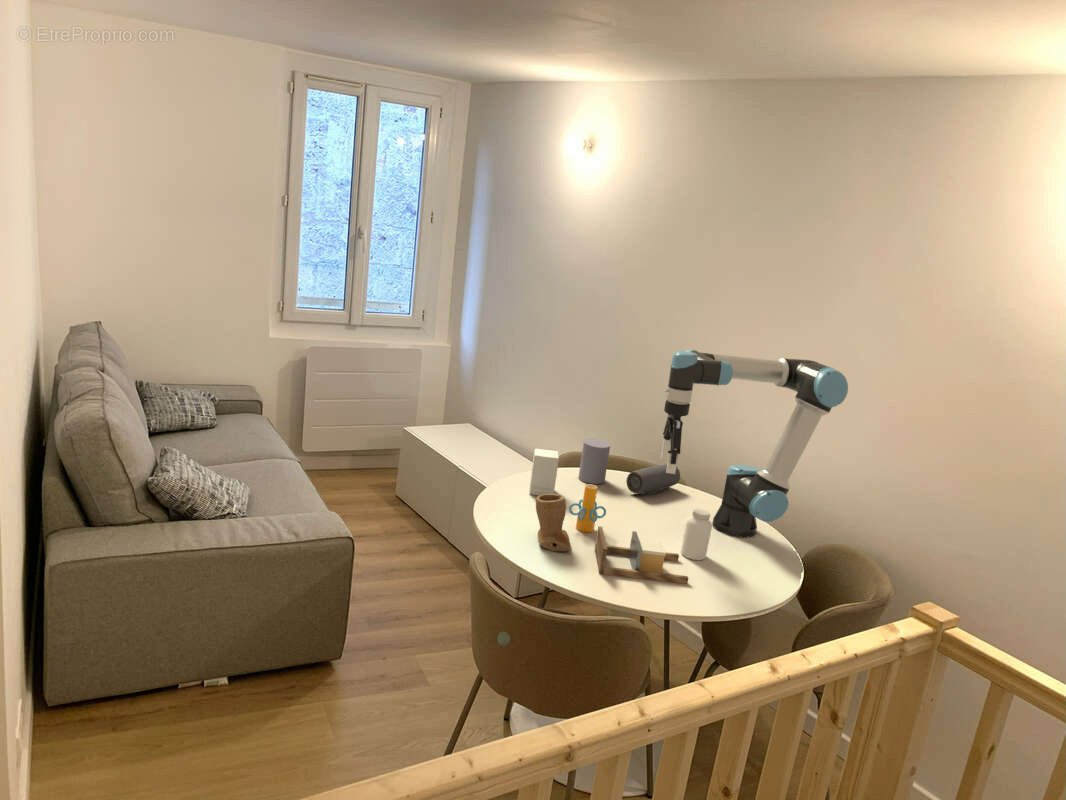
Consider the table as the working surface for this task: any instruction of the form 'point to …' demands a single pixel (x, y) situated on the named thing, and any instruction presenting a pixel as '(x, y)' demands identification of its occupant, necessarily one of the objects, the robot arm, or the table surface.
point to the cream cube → (652, 556)
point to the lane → (601, 553)
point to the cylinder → (587, 510)
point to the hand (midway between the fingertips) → (667, 466)
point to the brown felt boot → (552, 522)
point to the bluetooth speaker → (651, 479)
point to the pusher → (635, 551)
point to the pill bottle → (697, 535)
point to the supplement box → (544, 472)
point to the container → (594, 461)
